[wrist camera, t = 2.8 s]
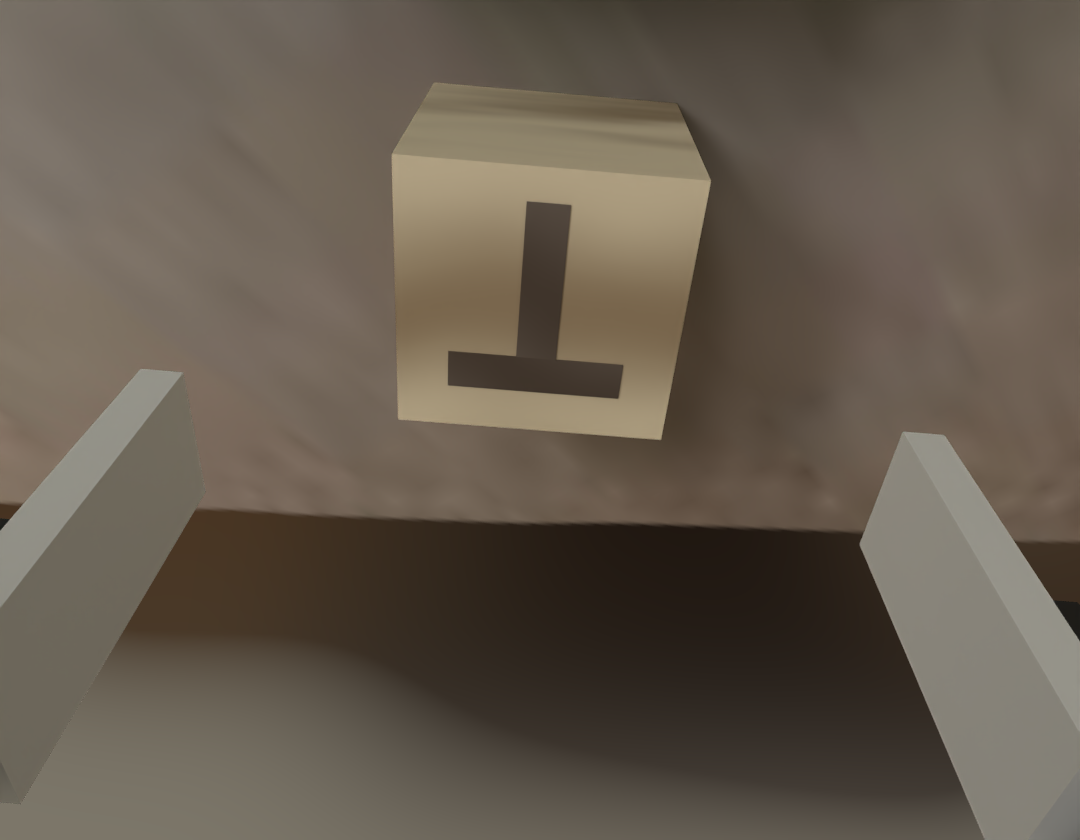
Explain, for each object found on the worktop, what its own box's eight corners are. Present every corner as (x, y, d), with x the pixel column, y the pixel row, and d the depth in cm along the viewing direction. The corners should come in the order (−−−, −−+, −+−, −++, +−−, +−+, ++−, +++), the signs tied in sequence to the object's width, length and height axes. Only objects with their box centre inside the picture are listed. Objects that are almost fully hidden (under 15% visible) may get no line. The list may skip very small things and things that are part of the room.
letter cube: (434, 81, 24) (391, 154, 18) (676, 102, 24) (711, 181, 18) (433, 302, 28) (397, 420, 22) (641, 319, 28) (661, 440, 22)
